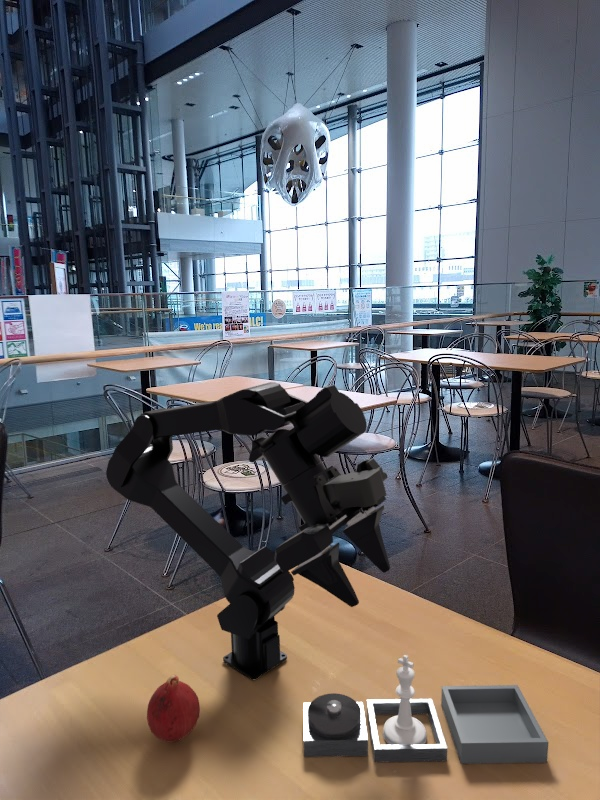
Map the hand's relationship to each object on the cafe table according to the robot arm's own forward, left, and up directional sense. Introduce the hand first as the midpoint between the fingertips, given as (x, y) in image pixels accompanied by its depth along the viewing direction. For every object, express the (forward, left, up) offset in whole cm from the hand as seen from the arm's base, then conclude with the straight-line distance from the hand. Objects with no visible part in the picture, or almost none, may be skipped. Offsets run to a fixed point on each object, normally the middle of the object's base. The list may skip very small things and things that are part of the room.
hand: (372, 587), depth 70 cm
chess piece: (+6, -2, -16) cm, 17 cm away
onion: (-13, -20, -16) cm, 28 cm away
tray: (+13, +5, -15) cm, 21 cm away
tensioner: (+3, -4, -15) cm, 16 cm away
